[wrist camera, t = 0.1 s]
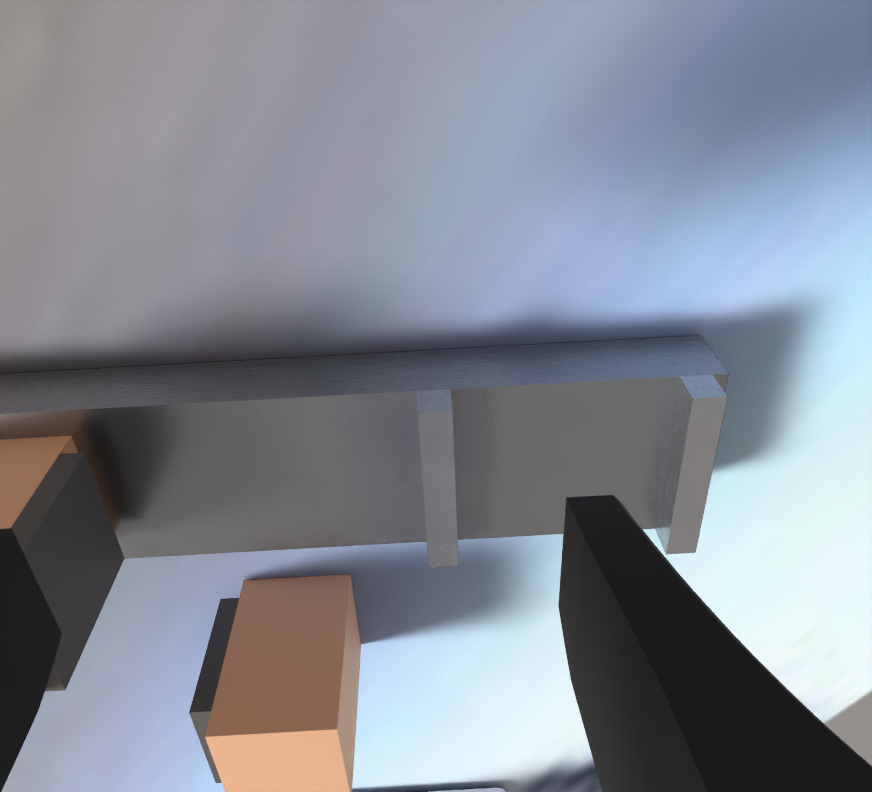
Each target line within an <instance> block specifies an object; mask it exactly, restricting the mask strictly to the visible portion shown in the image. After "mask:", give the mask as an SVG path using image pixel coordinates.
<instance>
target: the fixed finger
mask: <svg viewBox="0 0 872 792" xmlns="http://www.w3.org/2000/svg"><path fill="white" fill-rule="evenodd" d="M5 528H12V530H13V532H14V534H15V536H16V538H17V541H18V543H19V545H20V547H21V549H22V551H23V553H24V555H25V557H26V559H27V561H28V564H29V566H30V568H31V570H32V572H33V574H34V576H35V578H36V580H37V582H38V584H39V587H40V589H41V591H42V593H43V595H44V597H45V599H46V601H47V603H48V605H49V607H50V609H51V612H52V614H53V616H54V618H55V620H56V622H57V624H58V626H59V628H60V630H61V632H62V636H61V640H60V643H59V646H58V650H57V653H56V657H55V660H54V663H53V667H52V670H51V674H50V677H49V680H48V683H47V686H46V689H45V691H59V690H66V687H67V685H68V683H69V681H70V678H71V676H72V674H73V672H74V670H75V667H76V665H77V663H78V661H79V658H80V656H81V654H82V652H83V649H84V647H85V645H86V643H87V640H88V638H89V636H90V634H91V632H92V629H93V627H94V625H95V623H96V620H97V618H98V616H99V614H100V611H101V609H102V607H103V605H104V602H105V600H106V598H107V596H108V594H109V591H110V589H111V587H112V585H113V582H114V580H115V578H116V576H117V573H118V571H119V569H120V567H121V564H122V562H123V560H124V555H123V553H122V550H121V547H120V545H119V542H118V539H117V537H116V534H115V532H114V529H113V526H112V524H111V521H110V518H109V516H108V513H107V511H106V508H105V505H104V503H103V500H102V497H101V495H100V492H99V490H98V487H97V484H96V482H95V479H94V477H93V474H92V471H91V469H90V466H89V463H88V461H87V458H86V456H85V453H78V451H77V449H76V446H75V444H74V441H73V439H72V436H57V437H39V438H21V439H3V440H0V529H5Z"/></svg>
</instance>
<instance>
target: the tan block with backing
mask: <svg viewBox="0 0 872 792" xmlns="http://www.w3.org/2000/svg"><path fill="white" fill-rule="evenodd" d="M360 653H361V640H360V634H359V627H358V621H357V614H356V607H355V601H354V594H353V588H352V581H351V574H346V575H328V576H311V577H293V578H275V579H258V580H244V582H243V586H242V590H241V594H240V598H228V599H220V603H219V607H218V610H217V614H216V618H215V621H214V625H213V629H212V632H211V636H210V639H209V643H208V647H207V650H206V654H205V658H204V661H203V665H202V668H201V672H200V676H199V679H198V683H197V687H196V690H195V694H194V697H193V701H192V705H191V708H190V712H189V713H190V716H191V718H192V721H193V724H194V726H195V729H196V732H197V734H198V737H199V739H200V742H201V745H202V747H203V750H204V753H205V755H206V758H207V761H208V763H209V766H210V769H211V771H212V774H213V777H214V779H215V782H216V783H222V785H223V787H224V790H225V792H352V780H353V765H354V749H355V733H356V717H357V701H358V685H359V669H360Z"/></svg>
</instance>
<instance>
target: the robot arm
mask: <svg viewBox="0 0 872 792" xmlns="http://www.w3.org/2000/svg"><path fill="white" fill-rule="evenodd" d="M559 611H560V618H561V624H562V630H563V636H564V642H565V648H566V654H567V659H568V665H569V671H570V676H571V681H572V685H573V689H574V692H575V696H576V699H577V703H578V707H579V710H580V714H581V717H582V721H583V724H584V728H585V732H586V735H587V739H588V742H589V746H590V749H591V753H592V756H593V760H594V763H595V767H596V770H597V774H598V777H599V781H600V784H601V788H602V791H603V792H872V766H871V765H870V764H869V763H867V762H866V761H865V760H864V759H863V758H862V757H861V756H859V755H858V754H857V753H856V752H855V751H854V750H853V749H851V748H850V747H849V746H848V745H847V744H846V743H845V742H844V741H842V740H841V739H840V738H839V737H838V736H837V735H836V734H835V733H833V732H832V731H831V730H830V729H829V728H828V727H827V726H826V725H825V724H824V723H822V722H821V721H820V720H819V719H818V718H817V717H816V716H815V715H814V714H813V713H812V712H811V711H810V710H808V709H807V708H806V707H805V706H804V705H803V704H802V703H801V702H800V701H799V700H798V699H797V698H796V697H795V696H794V695H793V694H792V693H791V692H790V691H789V690H788V689H787V688H786V687H785V686H784V685H783V684H782V683H781V682H780V681H779V680H778V679H777V678H776V677H775V676H774V675H773V674H771V673H770V672H769V671H768V670H767V669H766V668H765V667H764V666H763V665H762V664H761V663H760V662H759V661H758V660H757V659H756V658H755V657H754V656H753V655H752V653H751V652H750V651H749V650H748V649H747V648H746V647H745V646H744V645H743V644H742V643H741V642H740V641H739V640H738V639H737V638H736V637H735V636H734V635H733V634H732V633H731V631H730V630H729V629H728V628H727V627H726V626H725V625H724V624H723V623H722V622H721V620H720V619H719V618H718V617H717V616H716V615H715V614H714V613H713V612H712V611H711V609H710V608H709V607H708V606H707V605H706V604H705V603H704V602H703V601H702V600H701V598H700V597H699V596H698V595H697V594H696V593H695V592H694V591H693V590H692V588H691V587H690V586H689V585H688V584H687V583H686V582H685V580H684V579H683V578H682V577H681V576H680V575H679V573H678V572H677V571H676V570H675V569H674V568H673V566H672V565H671V564H670V563H669V562H668V560H667V559H666V558H665V557H664V556H663V554H662V553H661V552H660V551H659V550H658V548H657V547H656V546H655V545H654V543H653V542H652V541H651V540H650V538H649V537H648V536H647V535H646V534H645V532H644V531H643V530H642V528H641V527H640V526H639V525H638V523H637V522H636V521H635V520H634V518H633V517H632V516H631V514H630V513H629V512H628V511H627V509H626V508H625V507H624V505H623V504H622V503H621V502H620V501H619V500H618V499H617V498H616V497H615V496H614V495H600V496H582V497H566V507H565V522H564V536H563V550H562V565H561V579H560V593H559ZM61 636H62V632H61V630H60V628H59V626H58V624H57V622H56V620H55V618H54V616H53V614H52V612H51V609H50V607H49V605H48V603H47V601H46V599H45V597H44V595H43V593H42V591H41V589H40V587H39V584H38V582H37V580H36V578H35V576H34V574H33V572H32V570H31V568H30V566H29V564H28V561H27V559H26V557H25V555H24V553H23V551H22V549H21V547H20V545H19V543H18V541H17V538H16V536H15V534H14V532H13V530H12V528H5V529H0V792H1V791H2V789H3V786H4V784H5V782H6V780H7V778H8V776H9V774H10V771H11V769H12V767H13V765H14V763H15V761H16V758H17V756H18V754H19V752H20V750H21V747H22V745H23V743H24V741H25V739H26V736H27V734H28V732H29V730H30V728H31V725H32V723H33V721H34V719H35V716H36V714H37V712H38V709H39V707H40V704H41V701H42V698H43V695H44V692H45V689H46V686H47V683H48V680H49V677H50V674H51V670H52V667H53V663H54V660H55V657H56V653H57V650H58V646H59V643H60V640H61ZM430 792H506V791H505V790H504V789H502V788H482V789H465V790H448V791H430Z"/></svg>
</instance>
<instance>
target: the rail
mask: <svg viewBox="0 0 872 792" xmlns="http://www.w3.org/2000/svg"><path fill="white" fill-rule="evenodd" d="M727 379H728V372H727V371H726V369H725V368H724V367H723V365H722V364H721V362H720V361H719V360H718V358H717V357H716V356H715V354H714V353H713V351H712V350H711V349H710V347H709V346H708V345H707V343H706V342H705V340H704V339H703V338H702V336H701V335H695V336H677V337H659V338H641V339H623V340H605V341H586V342H568V343H550V344H532V345H514V346H496V347H478V348H459V349H441V350H423V351H405V352H387V353H369V354H351V355H332V356H314V357H296V358H278V359H260V360H242V361H224V362H206V363H187V364H169V365H151V366H133V367H115V368H97V369H79V370H60V371H42V372H24V373H6V374H0V440H3V439H21V438H39V437H57V436H72V439H73V441H74V444H75V446H76V449H77V451H78V453H85V456H86V458H87V461H88V463H89V466H90V469H91V471H92V474H93V477H94V479H95V482H96V484H97V487H98V490H99V492H100V495H101V497H102V500H103V503H104V505H105V508H106V511H107V513H108V516H109V518H110V521H111V524H112V526H113V529H114V532H115V534H116V537H117V539H118V542H119V545H120V547H121V550H122V553H123V555H124V559H125V558H142V557H160V556H178V555H195V554H213V553H231V552H248V551H266V550H284V549H301V548H319V547H337V546H354V545H372V544H390V543H407V542H425V541H427V550H428V565H429V568H431V567H449V566H458V543H457V540H460V539H478V538H496V537H513V536H531V535H549V534H564V522H565V507H566V497H582V496H600V495H614V496H615V497H616V498H617V499H618V500H619V501H620V502H621V503H622V504H623V505H624V507H625V508H626V509H627V511H628V512H629V513H630V514H631V516H632V517H633V518H634V520H635V521H636V522H637V523H638V525H639V526H640V527H641V528H642V529H656V532H657V534H658V536H659V539H660V541H661V544H662V546H663V548H664V551H665V553H666V554H678V553H695V552H696V547H697V543H698V538H699V533H700V528H701V523H702V518H703V513H704V509H705V504H706V499H707V494H708V489H709V484H710V479H711V475H712V470H713V465H714V460H715V455H716V450H717V445H718V440H719V436H720V431H721V426H722V421H723V416H724V411H725V406H726V402H727V395H726V394H725V389H726V384H727Z"/></svg>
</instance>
